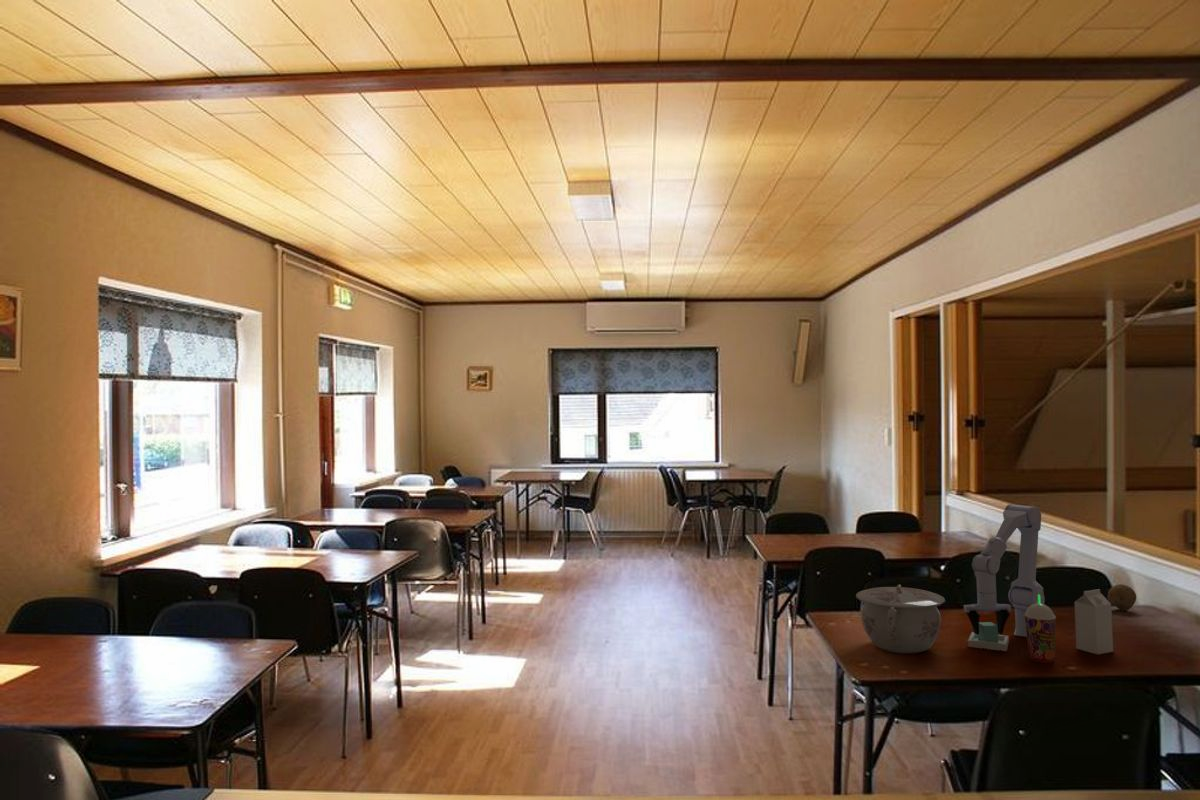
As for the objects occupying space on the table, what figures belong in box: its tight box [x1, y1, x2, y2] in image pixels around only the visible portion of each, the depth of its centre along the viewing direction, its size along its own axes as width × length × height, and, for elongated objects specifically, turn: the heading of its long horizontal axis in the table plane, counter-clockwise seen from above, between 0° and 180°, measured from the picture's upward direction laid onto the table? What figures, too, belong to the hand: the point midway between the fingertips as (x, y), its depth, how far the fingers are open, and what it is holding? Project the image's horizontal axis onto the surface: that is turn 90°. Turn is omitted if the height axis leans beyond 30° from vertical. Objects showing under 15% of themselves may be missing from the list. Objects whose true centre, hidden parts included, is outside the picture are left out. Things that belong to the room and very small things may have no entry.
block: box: [978, 621, 999, 643], centre depth 254 cm, size 4×4×6 cm
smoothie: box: [1024, 595, 1057, 664], centre depth 236 cm, size 8×8×20 cm
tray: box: [967, 631, 1010, 652], centre depth 253 cm, size 11×11×2 cm
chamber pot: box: [855, 583, 946, 655], centre depth 253 cm, size 28×28×21 cm
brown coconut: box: [1107, 584, 1137, 612], centre depth 290 cm, size 9×9×10 cm
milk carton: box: [1073, 588, 1114, 655], centre depth 244 cm, size 7×7×19 cm
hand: (988, 633), depth 253 cm, fingers open, 7 cm apart
